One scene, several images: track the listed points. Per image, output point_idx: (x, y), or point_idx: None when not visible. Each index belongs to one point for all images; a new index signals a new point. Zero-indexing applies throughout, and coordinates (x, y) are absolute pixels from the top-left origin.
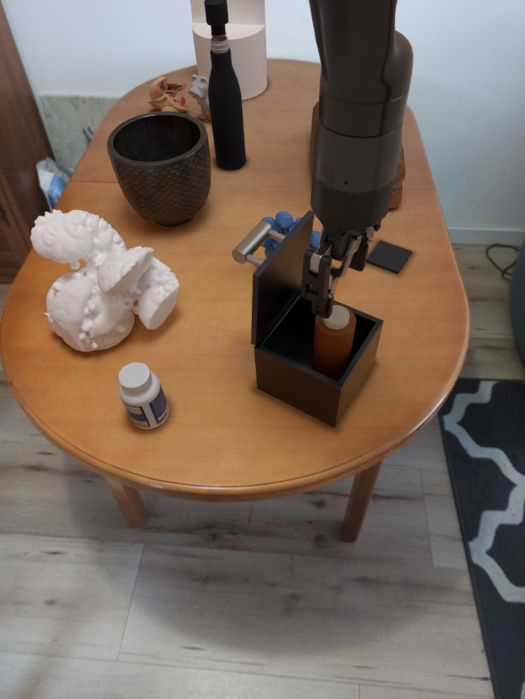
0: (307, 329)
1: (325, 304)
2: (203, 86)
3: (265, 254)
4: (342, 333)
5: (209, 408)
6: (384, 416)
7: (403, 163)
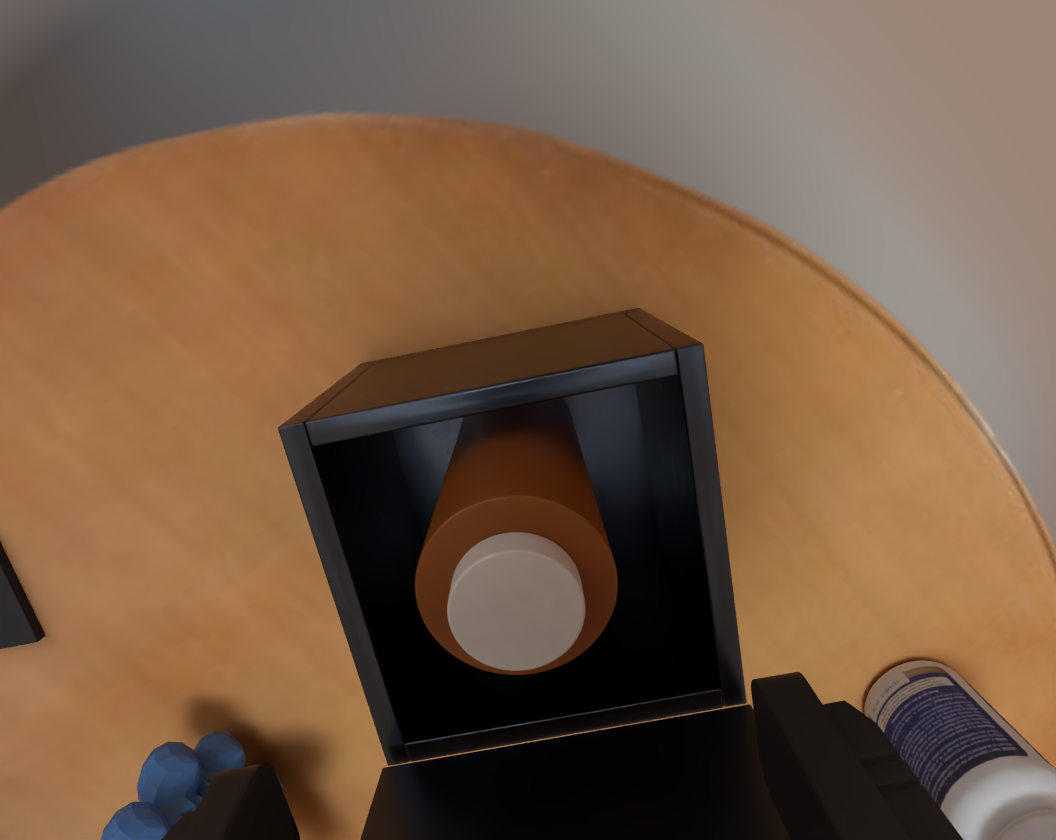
0: None
1: (934, 833)
2: None
3: None
4: (565, 516)
5: (808, 607)
6: (500, 214)
7: None
